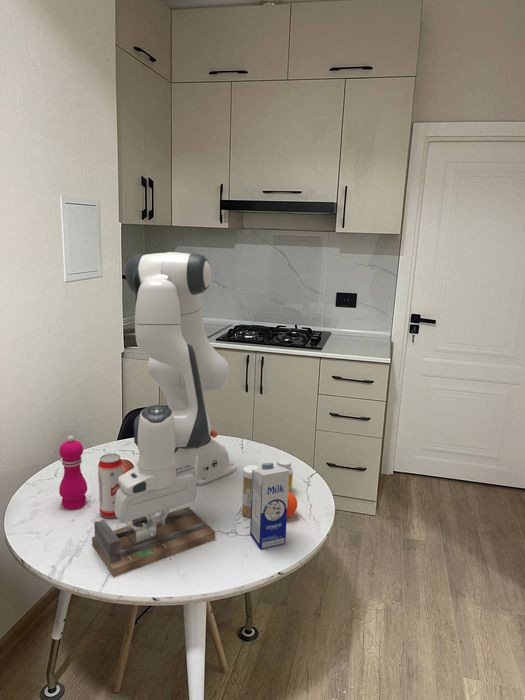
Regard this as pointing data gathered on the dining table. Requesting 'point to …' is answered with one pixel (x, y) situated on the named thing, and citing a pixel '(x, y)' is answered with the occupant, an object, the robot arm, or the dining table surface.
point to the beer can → (109, 483)
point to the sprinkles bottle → (247, 489)
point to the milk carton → (269, 505)
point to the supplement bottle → (287, 464)
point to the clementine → (291, 504)
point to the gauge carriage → (141, 530)
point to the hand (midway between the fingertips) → (157, 526)
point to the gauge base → (170, 539)
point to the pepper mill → (72, 475)
